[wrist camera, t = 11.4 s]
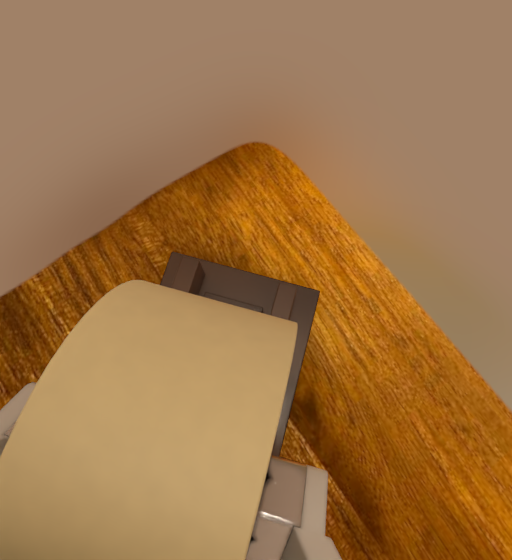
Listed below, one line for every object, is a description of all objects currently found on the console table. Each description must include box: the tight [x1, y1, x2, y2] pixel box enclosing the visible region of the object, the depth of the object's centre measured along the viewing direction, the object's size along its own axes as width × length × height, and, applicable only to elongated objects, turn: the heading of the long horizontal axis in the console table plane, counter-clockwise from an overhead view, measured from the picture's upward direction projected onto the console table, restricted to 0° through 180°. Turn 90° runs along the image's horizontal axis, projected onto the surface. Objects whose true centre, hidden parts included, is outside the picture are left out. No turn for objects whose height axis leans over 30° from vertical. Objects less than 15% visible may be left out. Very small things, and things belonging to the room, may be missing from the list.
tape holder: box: [160, 252, 320, 456], centre depth 28 cm, size 14×11×4 cm
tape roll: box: [0, 280, 298, 560], centre depth 11 cm, size 9×5×9 cm, turn 164°
